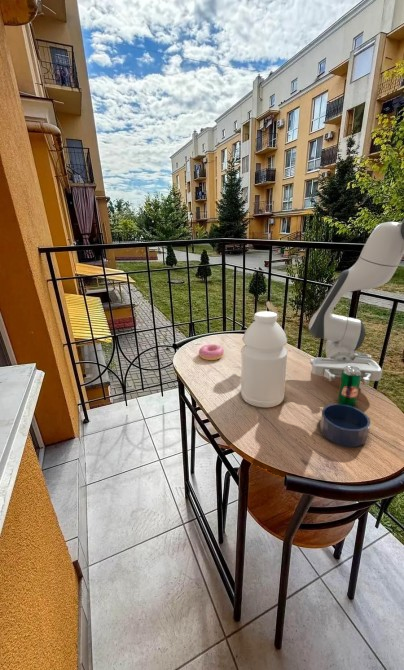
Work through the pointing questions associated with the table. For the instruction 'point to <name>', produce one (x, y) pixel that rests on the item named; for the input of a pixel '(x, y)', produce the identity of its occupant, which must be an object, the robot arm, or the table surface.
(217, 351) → the doughnut
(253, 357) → the bottle
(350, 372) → the soda can
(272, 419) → the table surface
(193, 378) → the table surface
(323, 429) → the bowl
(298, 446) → the table surface
